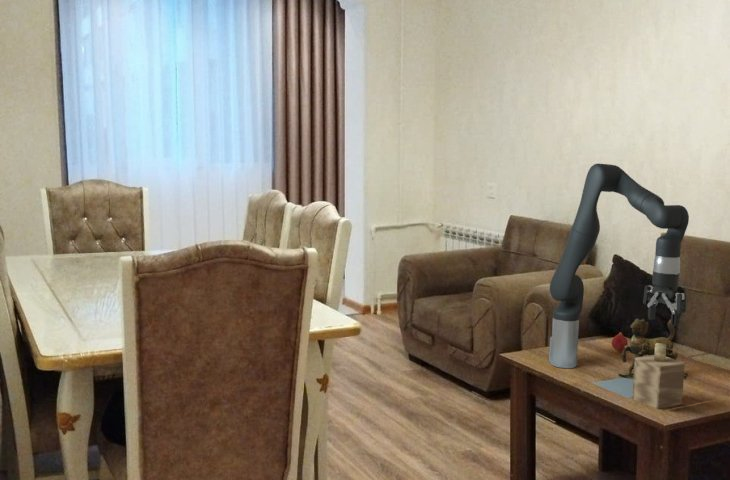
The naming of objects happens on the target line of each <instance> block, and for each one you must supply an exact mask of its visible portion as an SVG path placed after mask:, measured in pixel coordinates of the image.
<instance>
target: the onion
mask: <svg viewBox="0 0 730 480" xmlns="http://www.w3.org/2000/svg"><path fill="white" fill-rule="evenodd" d="M611 346H612V348H613V349H614V350H615V351H616V352H617V353H623V350H624V346H629V344H628V339H627V338H626V337H625V336H624V334H623V333H622V332H621V331H620V332H619V333H618V334H615V335H614V337H613V338H612V340H611Z"/></svg>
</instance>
